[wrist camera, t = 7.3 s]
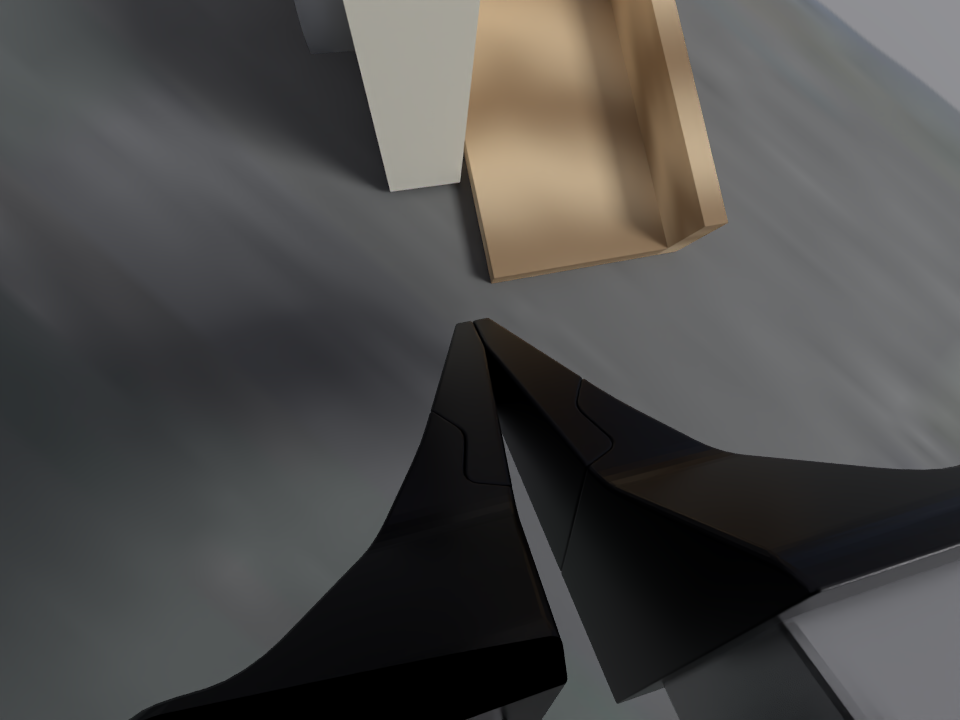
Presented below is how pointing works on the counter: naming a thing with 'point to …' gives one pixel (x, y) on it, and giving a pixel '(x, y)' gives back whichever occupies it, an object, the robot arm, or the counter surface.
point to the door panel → (406, 76)
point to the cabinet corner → (585, 136)
